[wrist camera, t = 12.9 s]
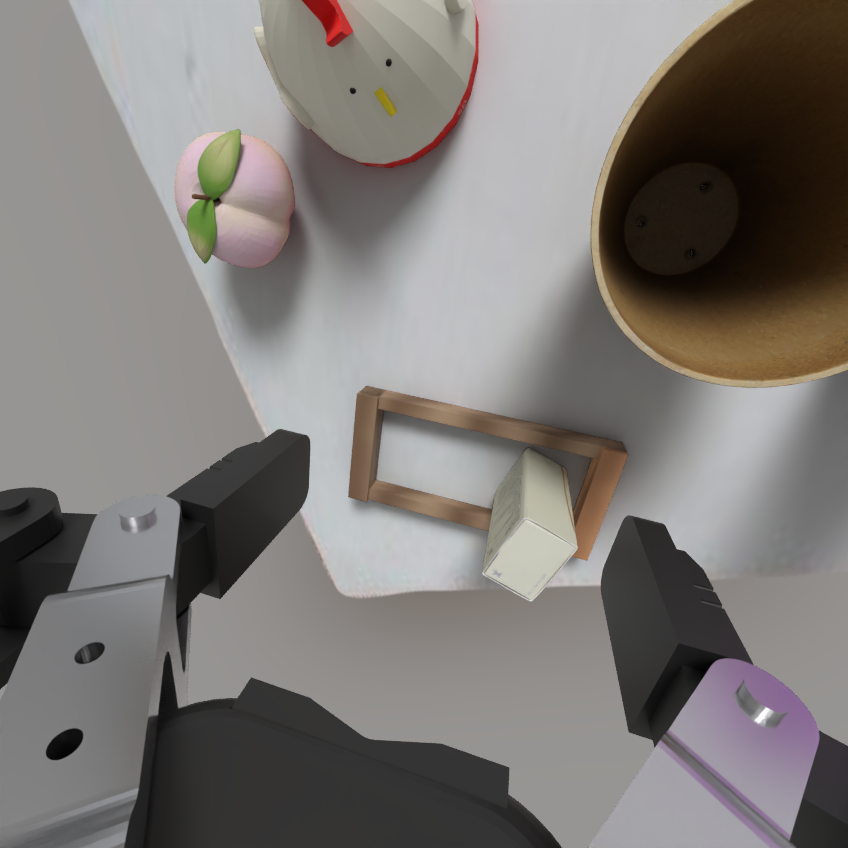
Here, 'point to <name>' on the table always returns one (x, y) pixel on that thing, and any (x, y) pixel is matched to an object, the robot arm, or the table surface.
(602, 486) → the rectangular wooden frame
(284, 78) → the kitchen timer
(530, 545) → the skincare box
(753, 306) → the plant pot
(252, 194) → the decorative fruit
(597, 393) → the table surface
